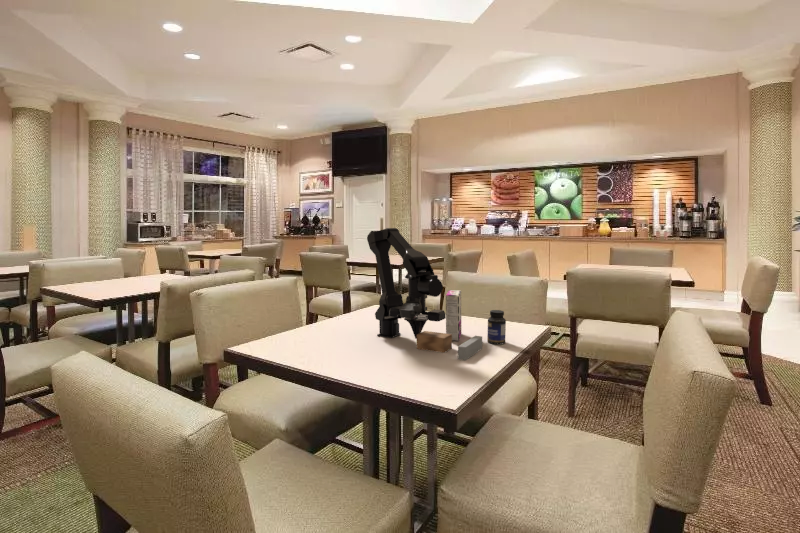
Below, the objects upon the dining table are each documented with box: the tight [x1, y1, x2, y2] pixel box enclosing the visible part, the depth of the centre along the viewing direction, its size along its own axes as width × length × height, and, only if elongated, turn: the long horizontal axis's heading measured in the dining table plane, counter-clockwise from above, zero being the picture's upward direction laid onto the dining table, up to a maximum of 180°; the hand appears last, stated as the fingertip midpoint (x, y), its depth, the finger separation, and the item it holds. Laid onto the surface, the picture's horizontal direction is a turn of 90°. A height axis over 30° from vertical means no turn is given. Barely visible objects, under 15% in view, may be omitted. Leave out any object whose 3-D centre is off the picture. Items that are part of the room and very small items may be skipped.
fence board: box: [457, 335, 483, 361], centre depth 151 cm, size 2×15×4 cm, turn 151°
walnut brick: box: [416, 330, 453, 354], centre depth 157 cm, size 10×6×5 cm, turn 61°
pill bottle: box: [487, 309, 507, 345], centre depth 164 cm, size 6×6×11 cm
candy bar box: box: [445, 289, 463, 342], centre depth 171 cm, size 11×5×16 cm, turn 168°
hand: (417, 338), depth 160 cm, fingers closed
